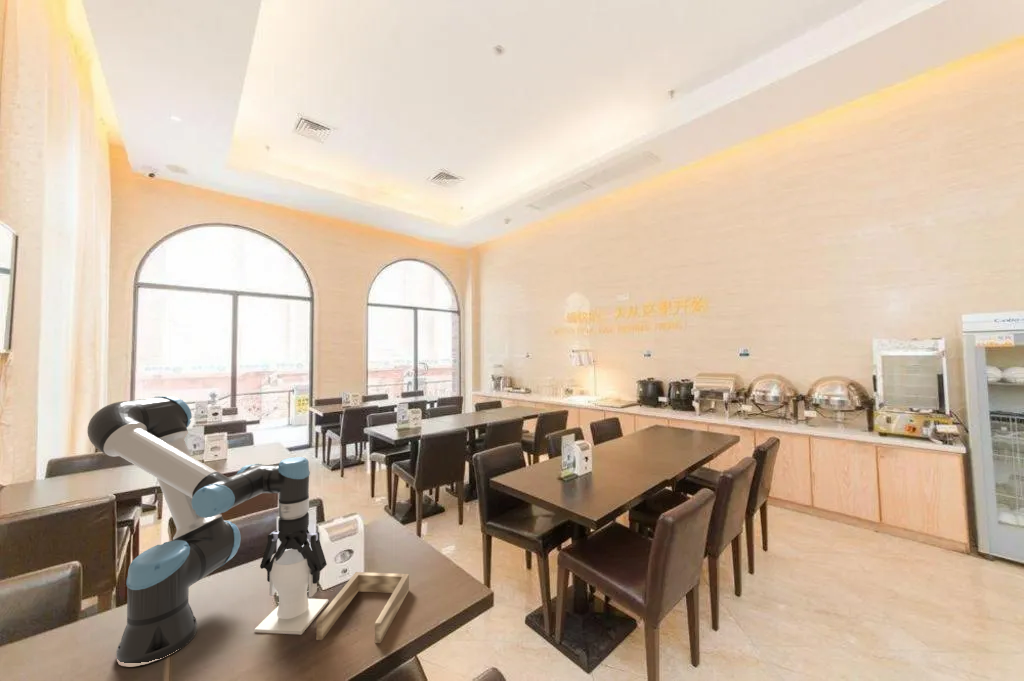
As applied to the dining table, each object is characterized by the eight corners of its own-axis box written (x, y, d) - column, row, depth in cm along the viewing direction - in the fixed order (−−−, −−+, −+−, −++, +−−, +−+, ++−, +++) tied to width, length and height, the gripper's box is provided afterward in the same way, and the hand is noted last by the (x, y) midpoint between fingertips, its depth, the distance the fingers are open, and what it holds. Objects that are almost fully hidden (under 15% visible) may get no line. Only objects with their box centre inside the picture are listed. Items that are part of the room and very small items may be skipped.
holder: (316, 639, 100) (316, 620, 100) (355, 588, 122) (355, 572, 122) (380, 643, 99) (380, 623, 99) (408, 590, 120) (408, 574, 120)
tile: (254, 632, 103) (254, 629, 103) (286, 600, 116) (286, 597, 116) (301, 634, 102) (301, 631, 102) (328, 602, 115) (328, 599, 115)
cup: (261, 620, 105) (261, 564, 105) (291, 595, 115) (291, 544, 115) (295, 625, 103) (295, 568, 103) (322, 600, 113) (322, 548, 113)
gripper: (244, 519, 107) (244, 600, 106) (326, 521, 105) (325, 604, 104) (264, 507, 114) (263, 583, 114) (340, 509, 112) (339, 586, 112)
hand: (293, 593), depth 109 cm, fingers open, 11 cm apart
